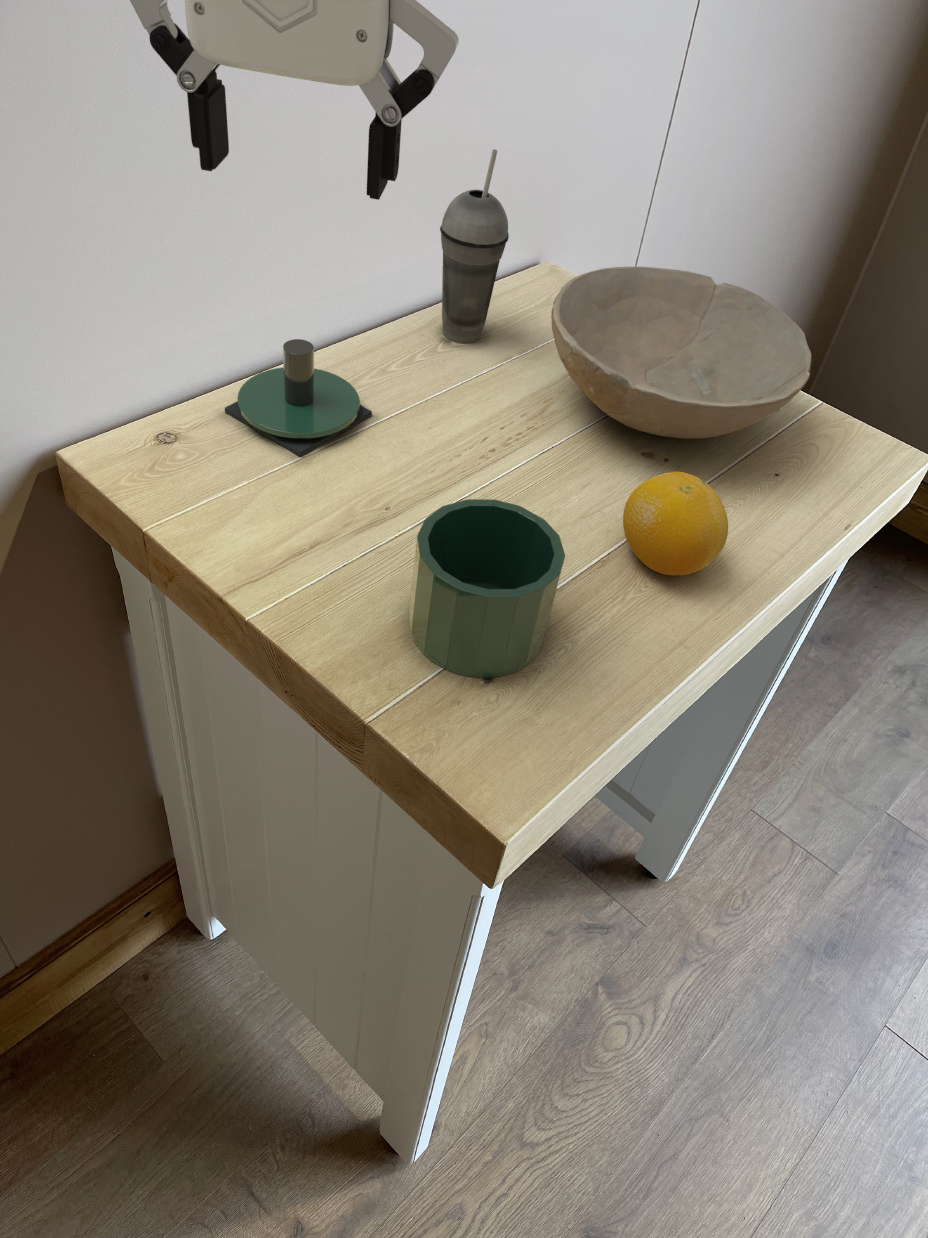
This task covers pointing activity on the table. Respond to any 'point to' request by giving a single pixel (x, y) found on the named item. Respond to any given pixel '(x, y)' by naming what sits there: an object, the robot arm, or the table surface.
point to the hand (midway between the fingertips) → (296, 176)
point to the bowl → (677, 350)
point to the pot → (483, 586)
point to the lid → (298, 397)
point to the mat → (297, 444)
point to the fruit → (675, 523)
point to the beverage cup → (471, 259)
